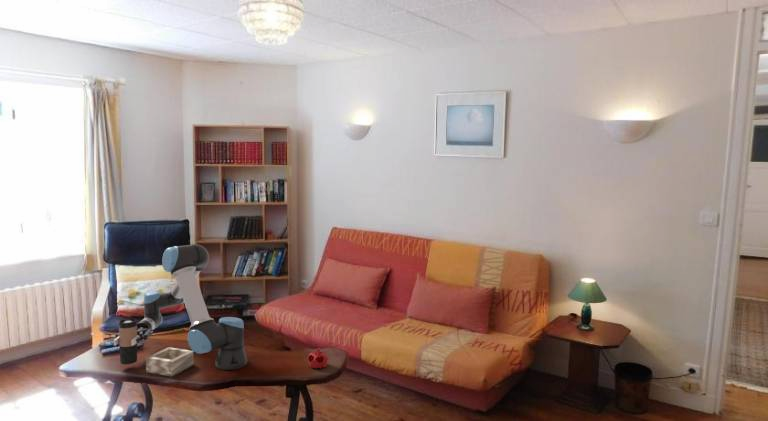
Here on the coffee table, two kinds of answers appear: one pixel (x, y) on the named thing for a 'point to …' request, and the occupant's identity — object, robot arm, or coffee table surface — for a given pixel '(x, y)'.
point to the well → (169, 361)
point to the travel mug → (127, 341)
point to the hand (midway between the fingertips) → (123, 342)
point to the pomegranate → (317, 359)
